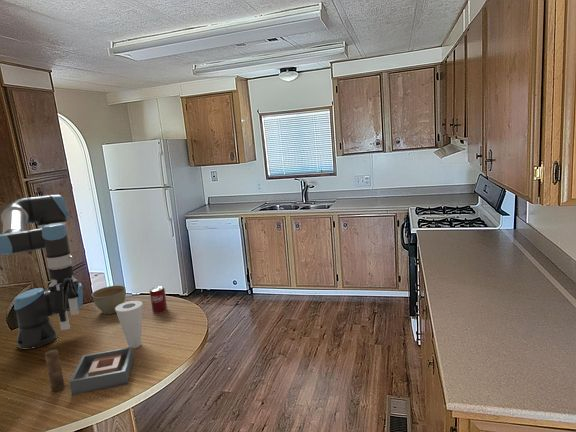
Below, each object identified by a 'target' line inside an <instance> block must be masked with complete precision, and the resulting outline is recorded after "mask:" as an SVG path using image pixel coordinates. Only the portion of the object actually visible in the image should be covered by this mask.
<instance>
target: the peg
mask: <svg viewBox="0 0 576 432" xmlns="http://www.w3.org/2000/svg"><path fill="white" fill-rule="evenodd" d="M44 358H45V362H46V363H45V364H46V369H47V372H48V373H47V374H48V378H49V385H50V388H51V392H52V393H56V392H60V391H62V390H64V388H65V381H64V376H63V370H62V366H61V365H62V364H61V361H60V360H61V359H60V354H59V350H58V349H56V348H55V349H51V350H48V351H46V352H45V353H44Z"/></svg>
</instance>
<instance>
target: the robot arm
mask: <svg viewBox="0 0 576 432" xmlns="http://www.w3.org/2000/svg"><path fill="white" fill-rule="evenodd" d="M67 219H70V214H69V211H68V207H67V204H66V202H65V199H64V197H63V196H62V195H60V194H47V195H40V196H39V195H37V196H33V197H31V196H30V197H22V198H18V199H16V200H14V201H12V202H10V203H9V204H7V205H6V206H5V207H4V209H2V211H1V215H0V220H1V223H2V225H3V226H2V233H0V256H5V255H9V256H10V255H13V254H14V255H15V254H19V253H24V252H30V251H36V250H43V249H44V250H45V255H46V263H47V268H48V272H49V278H50V279H51V282H50V284H49V285H48V289H47V290H45V289H44V288H43V287H38V288H37V287H35V288H31V289H29V290H26V291H24V292H22V293H20V294H18V295H16V296H15V297H14V299H13V306H14V308H13V309H14V311H15V316H16V320H17V326H18V332H17V333H18V334H17V339H16V346H17V345H18V346H17V348H18V347H21V348H32V347H38V346H41V345H44V346H46V345H45V344H47V343H49V342H51V341H52V342H53V340H54V339H55V338H56V337H58V335H57V334H58V333H57V331H56V329H55V327H54V326H53V324H52V323H51V320H50V317H52V316H56V315H57V317H58V322H59V326H60V331H65V330H70V329H71V325H70V320H69V315H68V312H70V316H76V315H80V310H79V309H80V308H82V307H83V300H84V297H83V295H84V294H83V292H84V291H83V284H82V282H78V279H77V278H76V277H74V274H75V272H74V267H73V265H72V259H73V256H72V255H71V250H70V244H69V238H68V231H67V228H66V224H67ZM28 224H29V225H30V224H37V225H36V226H37V227H38V228H35V229H27V225H28ZM56 339H57V338H56ZM56 339H55V340H56ZM55 340H54V341H55ZM52 342H51V343H52ZM49 344H50V343H49ZM47 345H48V344H47ZM41 347H42V346H41ZM38 348H39V347H38Z"/></svg>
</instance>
